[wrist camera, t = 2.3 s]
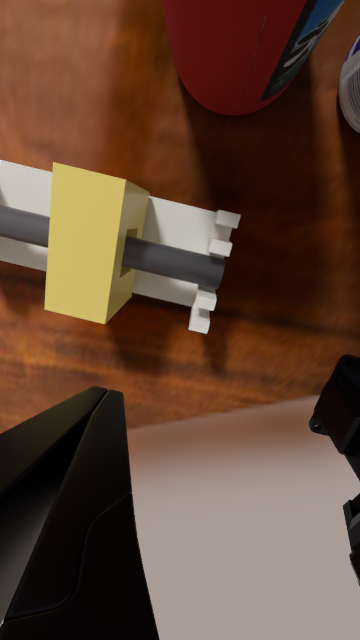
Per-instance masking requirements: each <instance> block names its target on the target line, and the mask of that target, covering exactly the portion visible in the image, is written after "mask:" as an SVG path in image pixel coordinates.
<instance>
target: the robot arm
mask: <svg viewBox="0 0 360 640" xmlns="http://www.w3.org/2000/svg"><path fill="white" fill-rule="evenodd" d="M349 360H350V363H349V364H345V363H346V362H347V361H349ZM315 425H318V426H316V427H315ZM309 427H310V429H311V431H313V432H315V433H318V434H322V435H327V436H330V438H331V440H332V441H333V443H334V445H335V447H336V448H337V450H338V452H339V453H340V454H343V455H345V457H346V459H347V460H348V462H349V464H350V465H351V467H352V469H353V471H354V472H355V474H356V475H357V477H358V479H359V480H360V357H357V356H353V355H343V356H342V357H341V358H340V359H339V361H338V363H337V365H336V367H335V369H334V372H333V374H332V376H331V378H330V380H329V381H328V382H327V383H326V385H325V387H324V389H323V391H322V393H321V395H320V397H319V400H318V402H317V404H316V406H315V408H314V413H313V415H312V417H311V419H310V421H309ZM343 510H344V515H345V520H346V525H347V530H348V535H349V541H350V545H351V551H352V552H351V553H350V555H349V556H350V561H351V565H352V567H353V570H354V572H355V574H356V577H357V579H358V582H359V585H360V494H358V495H357V496H356V497H355V498H354V499H353V500H349V501H348V502H347V503H345V504H344V505H343ZM3 619H4V621H3V624H2V625H1V627H0V640H159V635H158V631H157V627H156V622H155V618H154V613H153V609H152V605H151V600H150V596H149V591H148V587H147V582H146V578H145V573H144V569H143V564H142V559H141V554H140V548H139V543H138V538H137V531H136V523H135V515H134V506H133V496H132V486H131V475H130V464H129V452H128V441H127V430H126V419H125V408H124V397H123V393H122V392H119V391H114V390H107V389H106V388H102V387H98V386H92V387H90V388H88V389H86V390H84V391H82V392H80V393H78V394H76V395H75V396H73V397H71V398H69V399H67V400H65V401H63V402H61V403H59V404H57V405H55V406H53V407H51V408H49V409H47V410H46V411H44V412H42V413H40V414H38V415H36V416H34V417H32V418H30V419H28V420H26V421H24V422H22V423H20V424H18V425H16V426H15V427H13V428H11V429H9V430H7V431H5V432H3V433H1V434H0V624H1V622H2V620H3Z"/></svg>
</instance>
